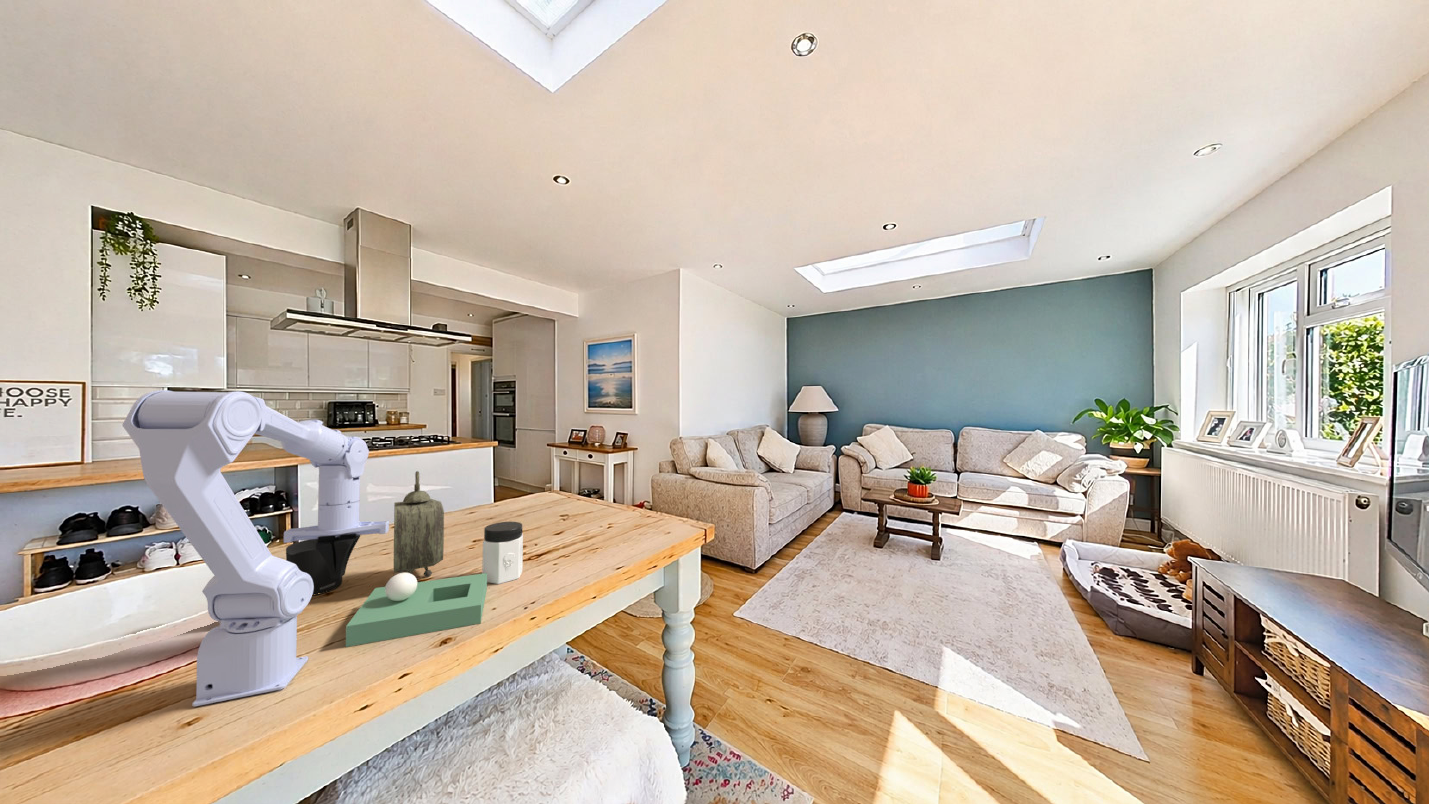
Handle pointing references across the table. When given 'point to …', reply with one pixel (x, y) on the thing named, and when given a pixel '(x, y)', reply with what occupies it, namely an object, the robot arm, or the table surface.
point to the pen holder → (312, 565)
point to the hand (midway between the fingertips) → (338, 576)
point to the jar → (502, 552)
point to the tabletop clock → (418, 532)
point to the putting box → (419, 610)
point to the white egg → (401, 586)
